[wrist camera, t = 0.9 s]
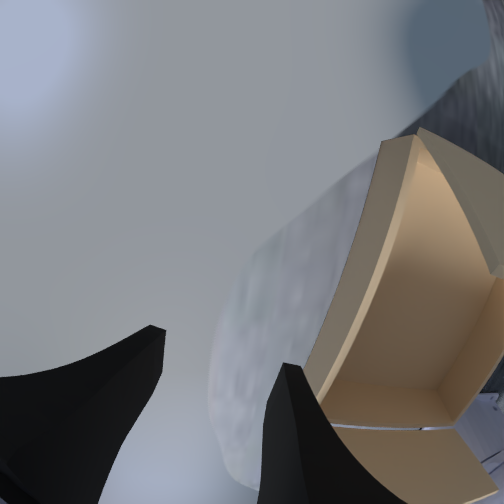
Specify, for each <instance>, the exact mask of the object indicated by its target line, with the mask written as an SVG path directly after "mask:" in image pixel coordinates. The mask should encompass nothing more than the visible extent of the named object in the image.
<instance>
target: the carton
mask: <svg viewBox="0 0 504 504" xmlns="http://www.w3.org/2000/svg"><path fill="white" fill-rule="evenodd" d="M503 356H504V280H503V279H500V278H498V277H495V276H493V275H490V272H489V270H488V267H487V264H486V262H485V259H484V257H483V254H482V252H481V249H480V247H479V245H478V242H477V240H476V238H475V235H474V233H473V231H472V229H471V227H470V225H469V222H468V220H467V218H466V216H465V214H464V212H463V210H462V208H461V206H460V204H459V202H458V201H457V199H456V197H455V195H454V193H453V191H452V189H451V188H450V186H449V184H448V182H447V181H446V179H445V177H444V175H443V174H442V172H441V170H440V169H439V167H438V166H437V164H436V162H435V161H434V159H433V158H432V156H431V154H430V153H429V151H428V150H427V148H426V147H425V145H424V144H423V142H422V141H421V139H420V138H419V137H418V136H417V135H415V134H413V135H408V136H403V137H398V138H394V139H389V140H385V141H382V142H381V145H380V149H379V154H378V158H377V162H376V166H375V169H374V173H373V177H372V181H371V185H370V188H369V192H368V195H367V199H366V202H365V206H364V209H363V212H362V216H361V219H360V222H359V226H358V229H357V232H356V235H355V238H354V241H353V244H352V247H351V250H350V253H349V256H348V259H347V262H346V265H345V268H344V271H343V273H342V276H341V279H340V282H339V284H338V287H337V290H336V292H335V295H334V298H333V300H332V303H331V306H330V308H329V311H328V313H327V316H326V318H325V321H324V323H323V326H322V328H321V331H320V333H319V335H318V338H317V340H316V342H315V345H314V347H313V349H312V352H311V354H310V356H309V359H308V361H307V363H306V365H305V368H304V370H303V372H304V374H305V376H306V379H307V381H308V383H309V385H310V387H311V389H312V391H313V393H314V395H315V397H316V399H317V401H318V403H319V405H320V407H321V408H322V410H323V412H324V414H325V416H326V417H327V419H328V421H329V422H330V423H333V424H343V425H354V426H368V427H391V428H425V427H447V426H454V425H455V424H456V422H457V421H458V420H459V419H460V418H461V416H462V415H463V414H464V413H465V411H466V410H467V409H468V407H469V406H470V405H471V404H472V402H473V401H474V399H475V398H476V397H477V395H478V394H479V393H480V391H481V390H482V388H483V387H484V385H485V384H486V383H487V381H488V380H489V378H490V377H491V375H492V373H493V372H494V370H495V369H496V367H497V366H498V364H499V362H500V361H501V359H502V357H503Z"/></svg>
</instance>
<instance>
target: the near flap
mask: <svg viewBox="0 0 504 504" xmlns="http://www.w3.org/2000/svg"><path fill="white" fill-rule="evenodd" d="M417 135H418V137H419V138H420V139H421V141H422V142H423V144H424V145H425V147H426V148H427V150H428V151H429V153H430V154H431V156H432V158H433V159H434V161H435V162H436V164H437V166H438V167H439V169H440V170H441V172H442V174H443V175H444V177H445V179H446V181H447V182H448V184H449V186H450V188H451V189H452V191H453V193H454V195H455V197H456V199H457V201H458V202H459V204H460V206H461V208H462V210H463V212H464V214H465V216H466V218H467V220H468V222H469V225H470V227H471V229H472V231H473V233H474V235H475V238H476V240H477V242H478V245H479V247H480V249H481V252H482V254H483V257H484V259H485V262H486V264H487V267H488V270H489V272H490V275H493V276H495V277H498V278H500V279H503V280H504V174H503V173H501V172H500V171H498V170H497V169H495V168H494V167H492V166H491V165H489V164H487V163H486V162H484V161H483V160H481V159H479V158H478V157H476V156H474V155H473V154H471V153H469V152H468V151H466V150H464V149H462V148H460V147H459V146H457V145H455V144H453V143H451V142H449V141H448V140H446V139H444V138H442V137H440V136H438V135H436V134H434V133H432V132H430V131H428V130H426V129H423V128H421V127H419V129H418V131H417Z"/></svg>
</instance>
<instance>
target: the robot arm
mask: <svg viewBox="0 0 504 504" xmlns="http://www.w3.org/2000/svg"><path fill="white" fill-rule="evenodd" d="M165 336H166V330H164V329H161V328H158V327H155V326H153V325H149V326H147V327H145V328H143V329H141V330H139V331H138V332H136V333H134V334H132V335H130V336H129V337H127V338H125V339H123V340H121V341H120V342H118V343H116V344H114V345H112V346H110V347H108V348H106V349H104V350H102V351H100V352H98V353H95V354H93V355H91V356H89V357H86V358H84V359H82V360H79V361H76V362H74V363H71V364H68V365H65V366H61V367H58V368H54V369H51V370H46V371H42V372H37V373H32V374H27V375H20V376H11V377H0V504H98V501H99V499H100V496H101V493H102V490H103V487H104V485H105V483H106V480H107V478H108V475H109V473H110V470H111V468H112V465H113V463H114V461H115V458H116V456H117V454H118V452H119V449H120V447H121V445H122V443H123V442H124V440H125V438H126V436H127V434H128V433H129V431H130V430H131V428H132V427H133V425H134V423H135V422H136V420H137V418H138V417H139V415H140V414H141V412H142V410H143V408H144V407H145V406H146V404H147V402H148V401H149V399H150V397H151V396H152V394H153V392H154V390H155V387H156V385H157V383H158V380H159V378H160V376H161V374H162V369H163V357H164V345H165ZM498 397H499V394H498V393H479V394H478V395H477V397H476V398H475V399H474V401H473V402H472V404H471V405H470V406H469V407H468V409H467V410H466V411H465V413H464V414H463V415H462V416H461V418H460V419H459V420H458V421H457V422H456V424H455V425H454V426H447V427H425V428H422V429H421V430H439V429H453V428H455V430H456V431H457V432H458V434H459V435H460V436H461V437H462V439H463V440H464V441H465V443H466V444H467V445H468V447H469V448H470V449H471V451H472V452H473V453H474V455H475V456H476V458H477V459H478V460H479V462H480V463H481V464H482V466H483V467H484V468H485V470H486V471H487V473H488V474H489V475H490V477H491V478H492V480H493V481H494V483H495V484H496V485H497V487H498V488H499V490H498V492H497V493H495V494H493V495H491V496H488V497H486V498H483V499H481V500H478V501H476V502H473V503H470V504H504V414H503V412H502V411H501V409H500V408H499V406H498V405H497V403H496V402H495V401H496V400H497V398H498ZM257 504H408V503H406V502H405V501H403V500H401V499H400V498H399V497H397V496H396V495H395V494H393V493H392V492H391V491H390V490H388V489H387V488H386V487H385V486H383V485H382V484H381V483H380V482H379V481H378V480H377V479H375V478H374V477H373V476H372V475H371V474H370V473H369V472H368V471H367V470H366V469H365V468H364V467H363V466H362V465H361V464H360V462H359V461H358V460H357V459H356V458H355V457H354V456H353V454H352V453H351V452H350V451H349V449H348V448H347V447H346V446H345V444H344V443H343V442H342V440H341V439H340V438H339V436H338V435H337V433H336V432H335V430H334V429H333V427H332V425H331V424H330V422H329V421H328V419H327V417H326V416H325V414H324V412H323V410H322V408H321V407H320V405H319V403H318V401H317V399H316V397H315V395H314V393H313V391H312V389H311V387H310V385H309V383H308V381H307V379H306V376H305V374H304V372H303V370H302V368H301V366H298V365H293V364H289V363H284V362H283V364H282V367H281V369H280V372H279V374H278V377H277V379H276V381H275V384H274V386H273V389H272V391H271V393H270V396H269V398H268V401H267V405H266V411H265V417H264V423H263V440H262V465H261V482H260V490H259V496H258V501H257Z"/></svg>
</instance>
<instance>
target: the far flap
mask: <svg viewBox="0 0 504 504" xmlns="http://www.w3.org/2000/svg"><path fill="white" fill-rule="evenodd" d="M332 427H333V426H332ZM333 429H334V430H335V432H336V433H337V435H338V436H339V438H340V439H341V440H342V442H343V443H344V444H345V446H346V447H347V448H348V449H349V451H350V452H351V453H352V454H353V456H354V457H355V458H356V459H357V460H358V461H359V462H360V464H361V465H362V466H363V467H364V468H365V469H366V470H367V471H368V472H369V473H370V474H371V475H372V476H373V477H374V478H375V479H377V480H378V481H379V482H380V483H381V484H382V485H383V486H385V487H386V488H387V489H388V490H390V491H391V492H392V493H393V494H395V495H396V496H397V497H399V498H400V499H401V500H403V501H405V502H406V503H408V504H470V503H473V502H476V501H478V500H481V499H483V498H486V497H488V496H491V495H493V494H495V493H497V492H498V490H499V488H498V487H497V485H496V484H495V483H494V481H493V480H492V478H491V477H490V475H489V474H488V473H487V471H486V470H485V468H484V467H483V466H482V464H481V463H480V462H479V460H478V459H477V458H476V456H475V455H474V453H473V452H472V451H471V449H470V448H469V447H468V445H467V444H466V443H465V441H464V440H463V439H462V437H461V436H460V435H459V434H458V432H457V431H456V430H455V428H453V429H439V430H370V429H354V428H343V427H333Z"/></svg>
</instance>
